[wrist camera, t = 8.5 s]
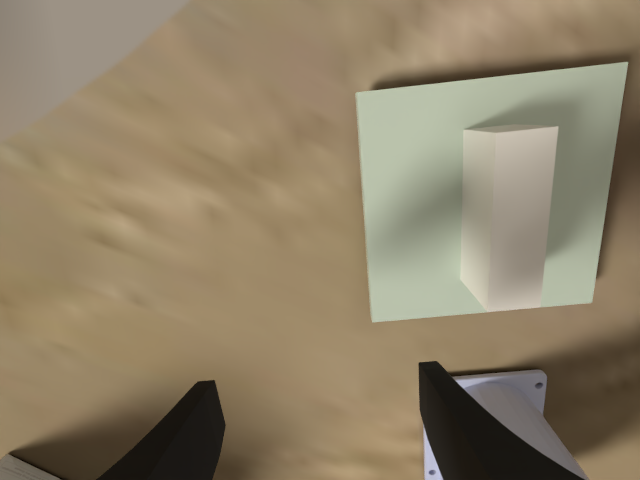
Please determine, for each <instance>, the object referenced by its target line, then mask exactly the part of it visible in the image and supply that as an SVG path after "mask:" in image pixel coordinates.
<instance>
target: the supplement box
mask: <svg viewBox="0 0 640 480" xmlns="http://www.w3.org/2000/svg"><path fill="white" fill-rule="evenodd" d="M0 480H61V479H59V478H57V477H55V476H53V475H51V474H49V473H47V472H45V471H42V470H40V469H38V468H36V467H34V466H32V465H30V464H27V463H25V462H23V461H21V460H19V459H17V458H15V457H13V456H11V455H9V454H6V455H5V456H4V457H3V458H2V459H1V460H0Z"/></svg>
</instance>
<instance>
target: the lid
mask: <svg viewBox="0 0 640 480" xmlns="http://www.w3.org/2000/svg"><path fill="white" fill-rule="evenodd" d="M627 67H628V62H621V63H612V64H604V65H595V66H586V67H577V68H568V69H559V70H551V71H542V72H533V73H524V74H515V75H506V76H497V77H489V78H480V79H471V80H462V81H453V82H444V83H436V84H427V85H418V86H409V87H400V88H391V89H382V90H374V91H365V92H357V93H355V96H356V111H357V126H358V140H359V155H360V169H361V184H362V198H363V213H364V227H365V242H366V256H367V271H368V285H369V300H370V314H371V319H372V322H383V321H394V320H405V319H416V318H427V317H438V316H450V315H461V314H472V313H483V312H494V311H505V310H516V309H528V308H539V307H550V306H561V305H572V304H583V303H592V299H593V292H594V286H595V279H596V273H597V266H598V259H599V253H600V246H601V239H602V233H603V226H604V220H605V213H606V206H607V200H608V193H609V186H610V180H611V173H612V167H613V160H614V153H615V147H616V140H617V133H618V127H619V120H620V114H621V107H622V100H623V94H624V87H625V80H626V74H627Z"/></svg>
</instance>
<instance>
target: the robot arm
mask: <svg viewBox="0 0 640 480" xmlns="http://www.w3.org/2000/svg"><path fill="white" fill-rule="evenodd" d="M537 383H538V384H537ZM546 384H547V375H546V374H545V373H544V372H543V371H542V370H526V371H514V372H502V373H491V374H479V375H467V376H455V377H452V376H451V375H450V374H449V373H448V372H447V371H446V370H445V369H444V368H443V367H442V366H441V365H440V364H439V363H438V362H437V361H432V362H420V363H419V398H420V412H421V416H422V420H423V434H424V479H425V480H589V478H588V477H587V475H586V474H585V473H584V471H583V470H582V469H581V467H580V466H579V465H578V463H577V462H576V460H575V459H574V458H573V456H572V455H571V454H570V452H569V451H568V450H567V448H566V447H565V446H564V444H563V443H562V441H561V440H560V439H559V437H558V436H557V435H556V433H555V432H554V431H553V429H552V428H551V426H550V425H549V424H548V422H547V421H546V420H545V418H544V417H543V411H544V402H545V393H546ZM224 431H225V421H224V417H223V413H222V409H221V405H220V401H219V396H218V392H217V388H216V384H215V380H211V381H199V382H197V383H196V384H195V385H194V386H193V387H192V388H191V389H190V390H189V391H188V392H187V393H186V394H185V396H184V397H183V398H182V399H181V400H180V401H179V402H178V403H177V404H176V405H175V406H174V407H173V409H172V410H171V411H170V412H169V413H168V414H167V415H166V416H165V417H164V418H163V419H162V420H161V421H160V422H159V423H158V424H157V425H156V426H155V427H154V428H153V429H152V430H151V431H150V432H149V433H148V434H147V435H146V436H145V437H144V438H143V439H142V440H141V441H140V442H139V443H138V444H137V445H136V446H135V447H134V448H133V449H132V450H130V451H129V452H128V453H127V454H126V455H125V456H124V457H123V458H122V459H120V460H119V461H118V462H117V463H116V464H115V465H113V466H112V467H111V468H110V469H109V470H107V471H106V472H105V473H104V474H103V475H101V476H100V477H99V478H98V479H96V480H212V478H213V475H214V472H215V469H216V466H217V463H218V459H219V456H220V452H221V447H222V442H223V436H224Z"/></svg>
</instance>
